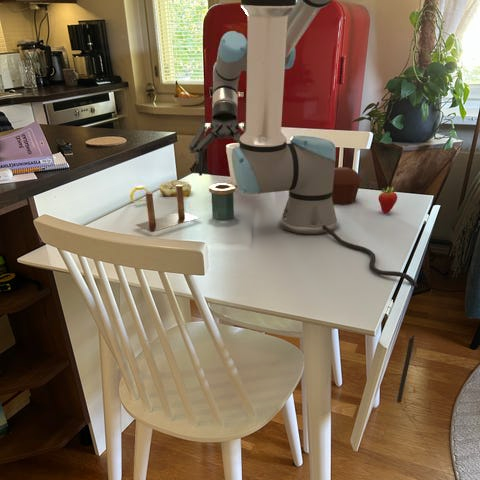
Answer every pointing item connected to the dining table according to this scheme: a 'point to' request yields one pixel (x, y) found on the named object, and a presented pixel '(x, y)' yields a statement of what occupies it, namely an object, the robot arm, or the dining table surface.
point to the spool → (222, 201)
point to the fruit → (387, 199)
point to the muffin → (345, 185)
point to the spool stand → (167, 220)
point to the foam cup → (229, 155)
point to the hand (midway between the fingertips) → (223, 172)
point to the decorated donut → (174, 188)
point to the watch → (135, 190)
